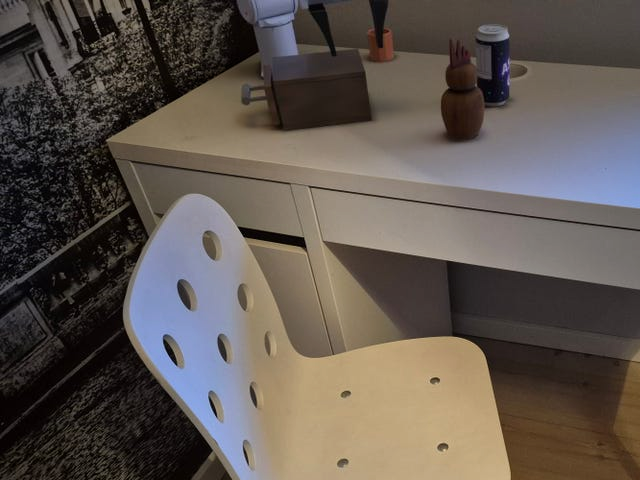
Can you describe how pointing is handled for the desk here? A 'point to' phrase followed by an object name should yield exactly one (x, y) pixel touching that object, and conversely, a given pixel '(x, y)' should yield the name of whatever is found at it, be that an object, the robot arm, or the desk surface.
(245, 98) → the drawer
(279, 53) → the robot arm
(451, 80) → the wooden figurine
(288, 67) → the cabinet
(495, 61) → the beverage can
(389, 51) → the cup
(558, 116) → the desk surface
